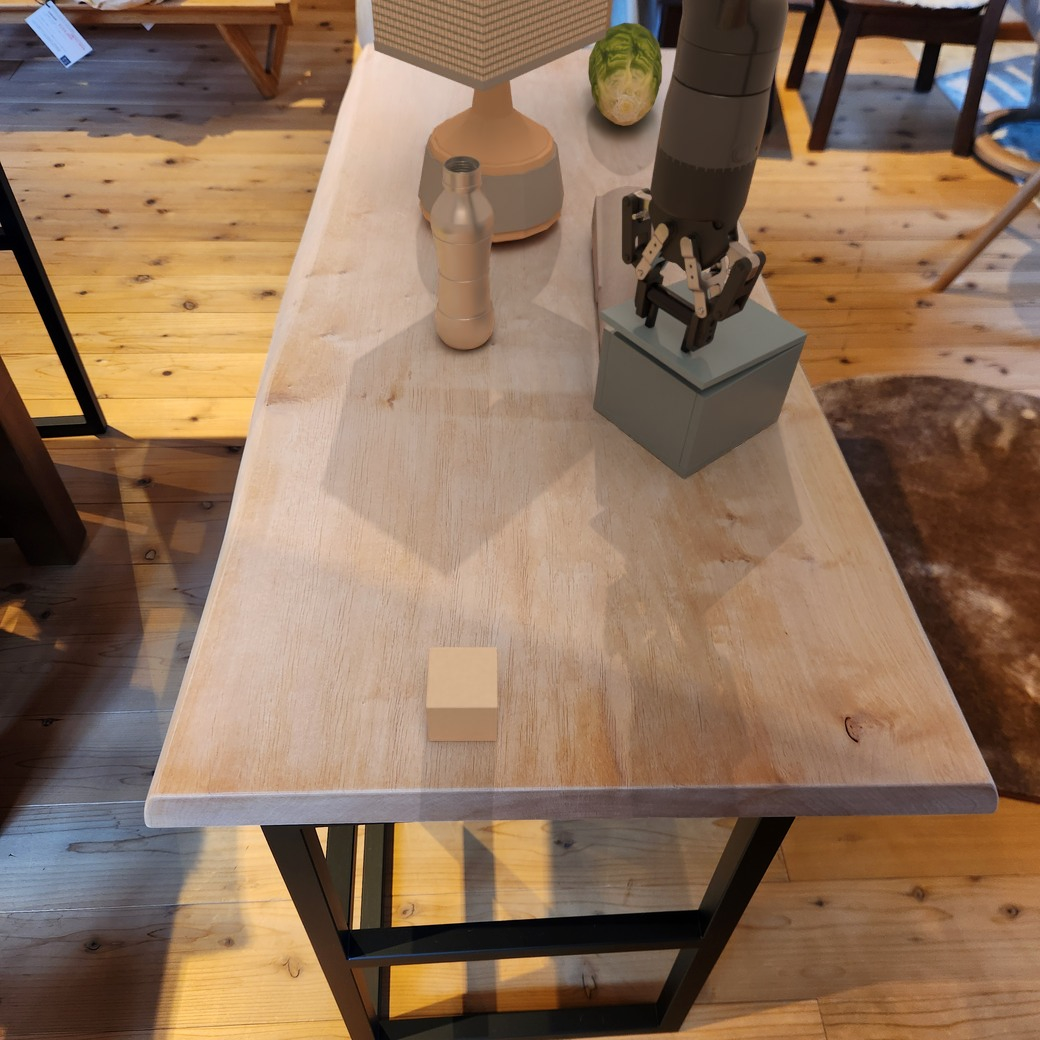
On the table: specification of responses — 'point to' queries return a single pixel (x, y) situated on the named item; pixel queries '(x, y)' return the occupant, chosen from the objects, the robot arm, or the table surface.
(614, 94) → the lettuce
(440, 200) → the plastic bottle
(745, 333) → the lid
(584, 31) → the desk lamp
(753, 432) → the grey box
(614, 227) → the beige long cone
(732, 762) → the table surface
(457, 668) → the tan cube
